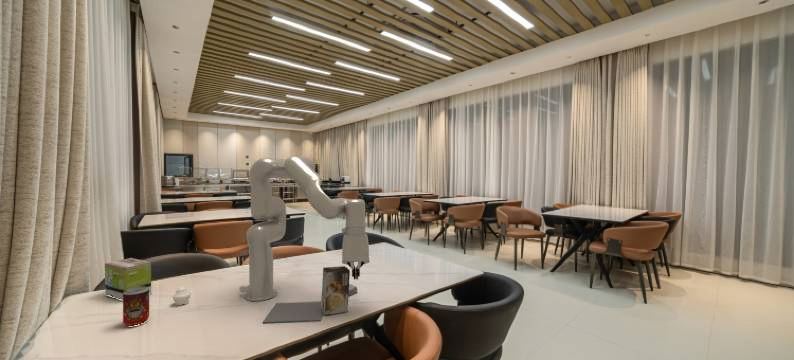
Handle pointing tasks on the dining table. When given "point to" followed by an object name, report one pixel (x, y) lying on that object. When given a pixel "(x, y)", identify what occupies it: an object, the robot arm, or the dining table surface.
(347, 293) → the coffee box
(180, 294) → the muffin
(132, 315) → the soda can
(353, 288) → the stone block
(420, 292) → the dining table surface
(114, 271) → the tea box
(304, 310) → the rubber mat
